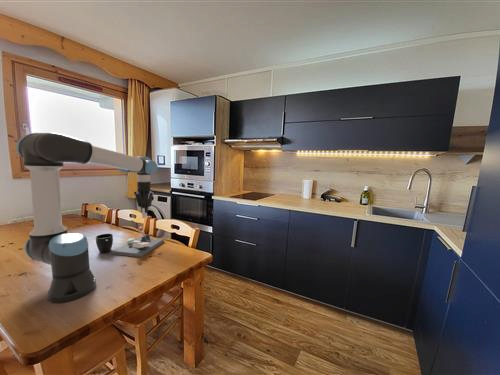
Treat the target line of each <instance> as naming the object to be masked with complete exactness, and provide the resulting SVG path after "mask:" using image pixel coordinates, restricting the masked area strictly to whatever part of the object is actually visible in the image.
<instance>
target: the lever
mask: <svg viewBox="0 0 500 375" xmlns="http://www.w3.org/2000/svg"><path fill="white" fill-rule="evenodd" d="M138 230H139V231H140V232H141V234H142V237H146V234H145V233H146V232H145V231H144V226H139V227H138ZM146 239H147V237H146Z"/></svg>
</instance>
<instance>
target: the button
mask: <svg viewBox="0 0 500 375" xmlns="http://www.w3.org/2000/svg"><path fill="white" fill-rule="evenodd" d="M135 239H136V238H135V237H132V238H131V237H130V238H128V239H127V240H126V241H127V243H126V244H128V245H132V242H133V241H135Z"/></svg>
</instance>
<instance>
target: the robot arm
mask: <svg viewBox="0 0 500 375" xmlns="http://www.w3.org/2000/svg"><path fill="white" fill-rule="evenodd" d="M16 151H17V154H19V156H20V157H21V158H23V160H22V161H23V166H24V168H26V169H27V170H29V172H30V173H29V174H30V187H31V188H30V189H31V199H32V200H31V202H32V203H31V205H32V217H33V229H32V230H30V231H29V233H28V234H29V235H28V236H29V239H28V240H26V242H25V243H24V244H25V245H24V252H25V254H26V256H28V257H29V258H31V260H33V261H36V262H41V263H44V264H47V265H50V267H51V276H52V278H51V283H50V286H49V289H48V292H47V299H48V301H49V302H51V303H53V304H54V303H55V304H60V303H68V302H71V301H75V300H77V299H80V298H83V297H84V296H86V295H89V293H91V292H92V291H94V289H96V287H97V282H96V277H95V276H94V274H93V272H92V270H91V268H90V258H89V257H90V255H89V241H88V239H87V236H86V235H84V234H83V233H80V232H79V233H78V232H74V233H72V232H70V233H68V227H67V226H65V225H63V217H62V201H61V200H62V199H61V198H62V197H61V181H60V171H61V170H62V169H63V168H64V163H72V164H80V165H81V164H82V165H86V164H94V165H99V166H105V167H109V168H114V169H118V171H119V172H121V173H125V174H127V173H135V174H136V181H137V185H136V187H137V190H136V191H133V193H134V196H135V198H136V203H137V207H139V208H141V211H140V212H141V213H142V216H141V217H142V219H146V218H148V212H149V208H150V207H151V206H152V204H153V203H152V202H153V198H154V195H155V192H153V191H152V190H151V184H152V183H151V174H155V173H156V172H157V170H158V164H157V162H156V161H155V160H151V159H150V157H148V156H132V155H129V154H125V153H122V152H117V151H114V150H112V149H111V150H110V149H108V148H102V147H99V146H95V145H93V144H92V143H91V142H89V141H87V140H86V141H85V140H83V139H79V138H77V137H73V136H70V135H66V134H63V133H58V132H33V133H29V134H26V135H24V136H21V137H20V139H18V141H17V143H16Z"/></svg>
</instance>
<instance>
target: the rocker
mask: <svg viewBox="0 0 500 375" xmlns="http://www.w3.org/2000/svg"><path fill="white" fill-rule="evenodd" d="M146 246H151V243H148V242H143V243H138V244H133V247H136V248H142V247H146Z"/></svg>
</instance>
